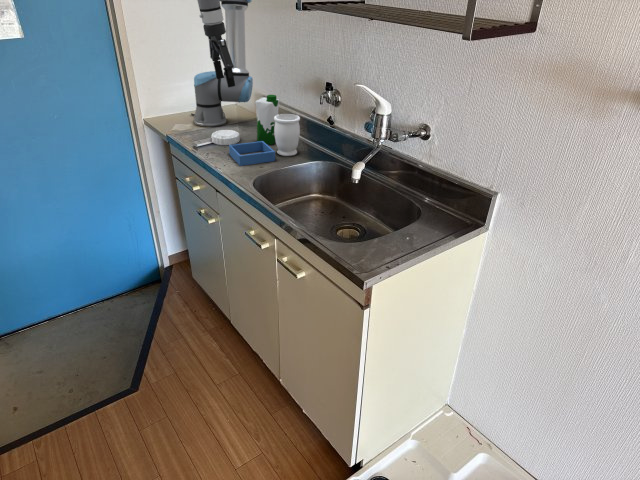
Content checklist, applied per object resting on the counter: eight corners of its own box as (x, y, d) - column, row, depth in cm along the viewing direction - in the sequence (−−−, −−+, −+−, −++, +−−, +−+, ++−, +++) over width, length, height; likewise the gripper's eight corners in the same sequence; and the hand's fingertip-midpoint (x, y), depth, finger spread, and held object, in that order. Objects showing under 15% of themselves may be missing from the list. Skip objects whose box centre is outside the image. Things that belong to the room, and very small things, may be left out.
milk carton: (272, 145, 203) (271, 98, 193) (254, 142, 206) (252, 96, 196) (281, 140, 210) (281, 94, 200) (263, 137, 213) (262, 91, 203)
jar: (296, 158, 191) (296, 121, 183) (271, 156, 192) (270, 119, 185) (302, 149, 200) (302, 114, 192) (278, 147, 201) (278, 112, 194)
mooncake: (228, 147, 199) (228, 139, 198) (206, 142, 204) (205, 134, 202) (245, 139, 209) (244, 131, 207) (223, 135, 213) (222, 127, 211)
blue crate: (229, 154, 192) (228, 145, 190) (263, 150, 198) (262, 140, 196) (240, 166, 182) (239, 156, 180) (275, 161, 188) (275, 151, 186)
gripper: (193, 20, 177) (207, 77, 189) (213, 30, 158) (227, 92, 171) (212, 16, 179) (224, 73, 192) (234, 25, 161) (246, 87, 173)
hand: (225, 82), depth 181 cm, fingers open, 13 cm apart
